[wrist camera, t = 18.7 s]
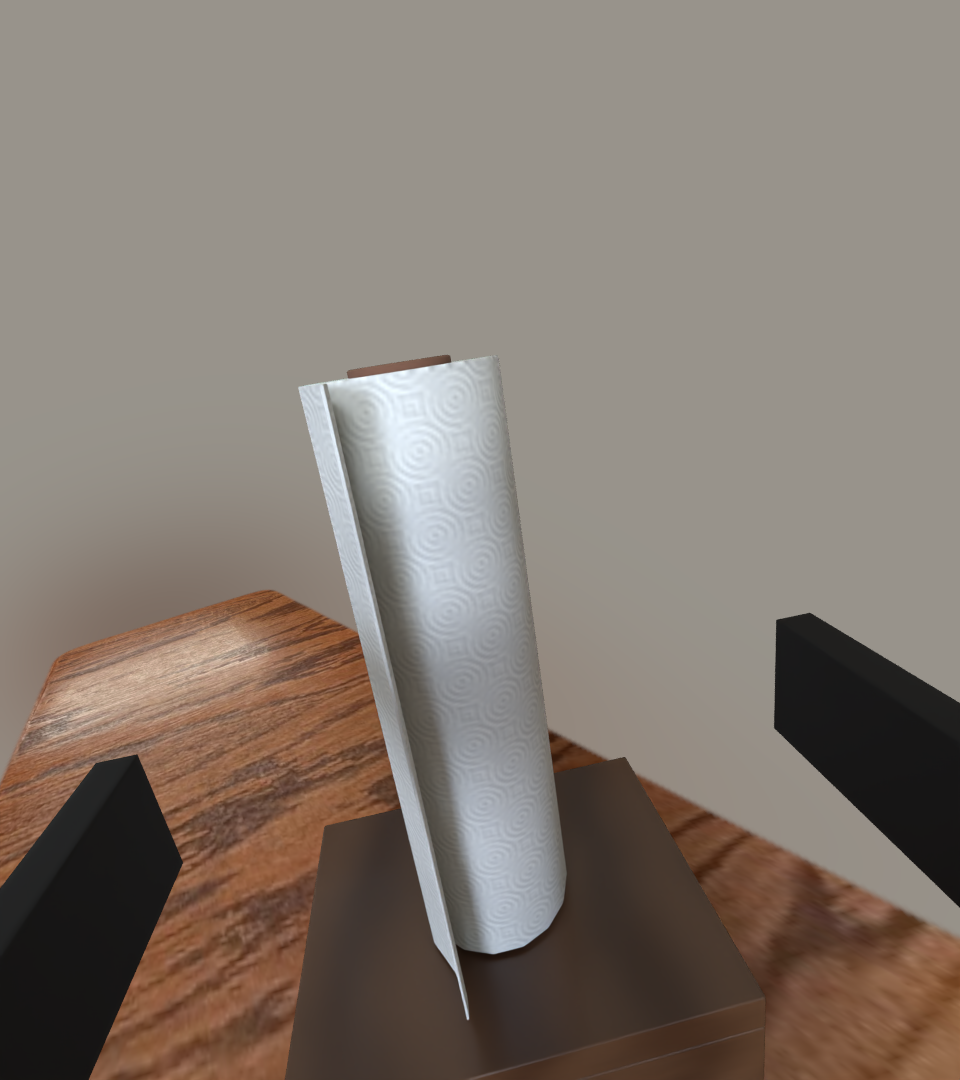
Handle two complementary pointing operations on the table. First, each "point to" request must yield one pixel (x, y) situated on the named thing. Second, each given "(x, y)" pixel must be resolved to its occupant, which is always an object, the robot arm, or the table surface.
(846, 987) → the table surface
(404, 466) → the paper towel roll
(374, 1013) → the drawer box
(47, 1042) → the robot arm
